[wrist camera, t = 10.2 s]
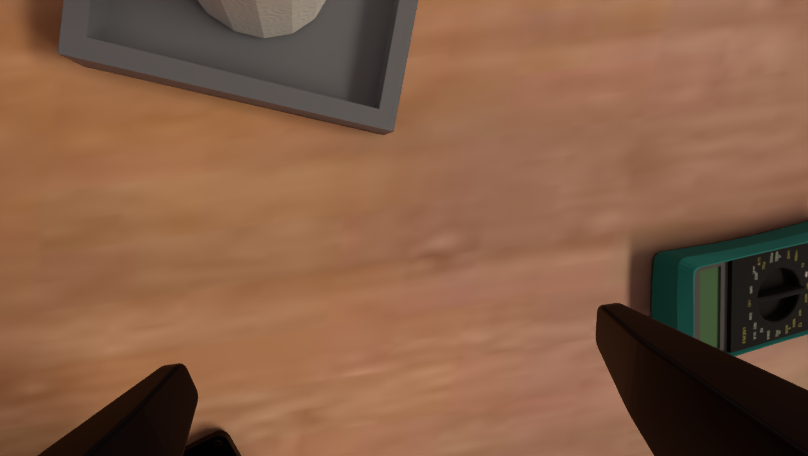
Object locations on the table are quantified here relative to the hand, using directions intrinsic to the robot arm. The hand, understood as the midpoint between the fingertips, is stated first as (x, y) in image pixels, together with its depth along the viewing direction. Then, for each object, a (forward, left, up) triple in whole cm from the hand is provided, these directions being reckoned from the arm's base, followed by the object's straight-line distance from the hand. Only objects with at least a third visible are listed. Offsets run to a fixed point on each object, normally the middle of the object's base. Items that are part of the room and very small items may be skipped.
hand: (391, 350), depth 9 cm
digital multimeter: (+23, -14, -13) cm, 30 cm away
